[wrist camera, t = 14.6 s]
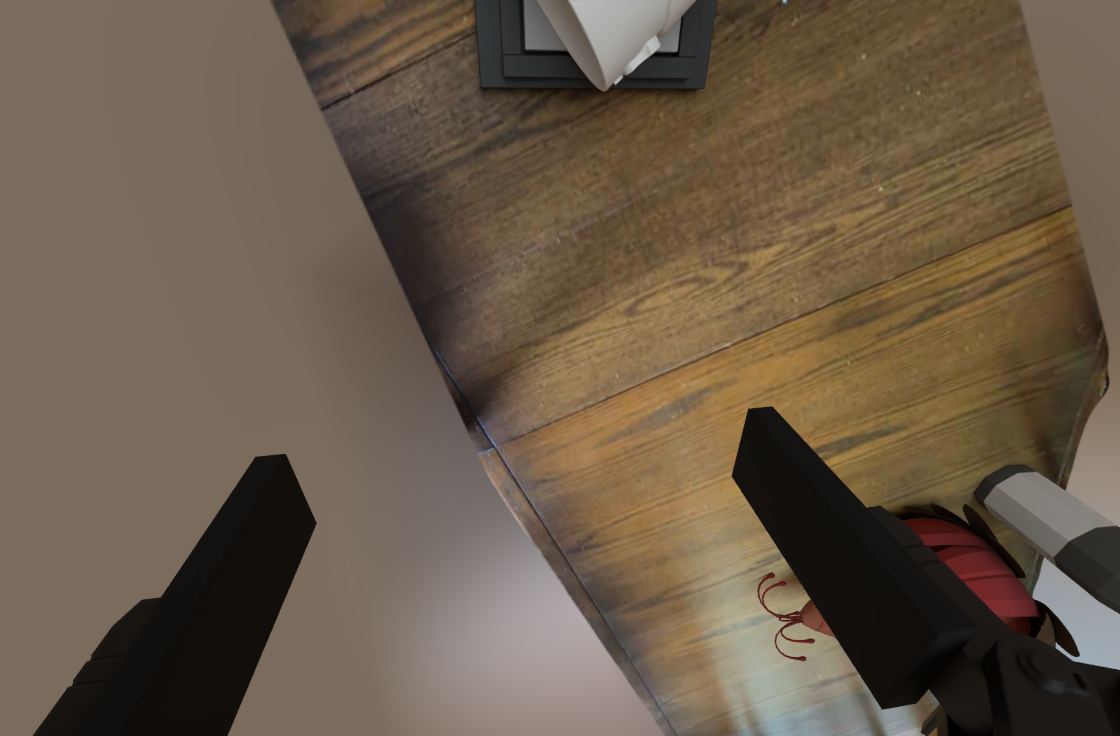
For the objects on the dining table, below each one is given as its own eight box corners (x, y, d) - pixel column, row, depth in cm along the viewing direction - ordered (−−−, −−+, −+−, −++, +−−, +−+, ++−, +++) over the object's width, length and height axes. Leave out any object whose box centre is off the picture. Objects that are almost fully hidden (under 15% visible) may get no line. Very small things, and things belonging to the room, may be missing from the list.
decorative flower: (924, 480, 69) (730, 526, 74) (1069, 542, 46) (774, 602, 51) (968, 617, 68) (770, 654, 73) (1137, 748, 45) (833, 789, 50)
